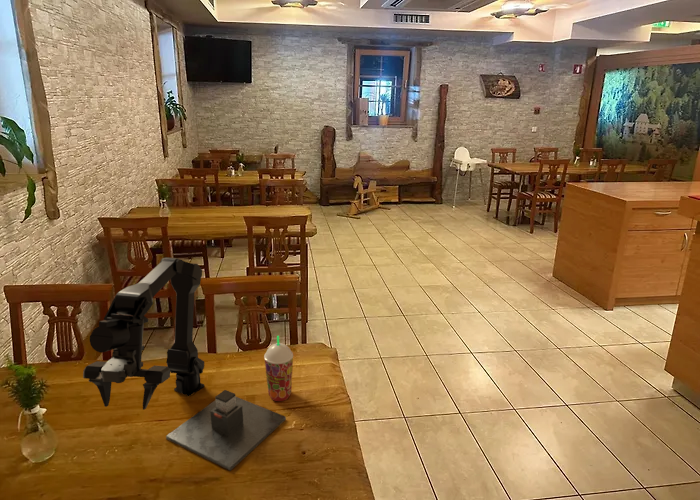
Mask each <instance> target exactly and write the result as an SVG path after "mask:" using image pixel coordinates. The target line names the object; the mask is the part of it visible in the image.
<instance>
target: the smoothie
mask: <svg viewBox="0 0 700 500" xmlns="http://www.w3.org/2000/svg"><path fill="white" fill-rule="evenodd" d="M263 359H264V366H265V375H266V383H267V385H266V386H267V390H268V391H267V392H268V396H269V397H270V399H271V400H273V401H274V402H283V401H286V400H287V399H289V397H290V395H291V394H292V387H293V385H292V383H293V382H292V381H293V364H294V362H293V361H294V353H293V351H292V350H291V348H290V347H289V346H288V345H287V344H285V343H282V342H280V335H277V336H276V343H273V344H271V345H270V346H269V347H267V350H266V352H265V353H264V355H263Z"/></svg>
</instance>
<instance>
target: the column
mask: <svg viewBox="0 0 700 500" xmlns="http://www.w3.org/2000/svg"><path fill="white" fill-rule="evenodd" d="M236 397H237V396H236V393H234V392H232V391H230V390H227V389H224V390H222V392H220V393H219V394H217V395H216V396H215V400H216V411H217V412H219V413H221V414H224V415H226V416H227V415H228V414H230V413H231V412H232V411H234V410H235V409H236Z"/></svg>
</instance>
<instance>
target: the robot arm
mask: <svg viewBox="0 0 700 500" xmlns="http://www.w3.org/2000/svg"><path fill="white" fill-rule="evenodd" d="M202 276H203V269H202V267H200V265H199V264H198V263H193V262H187V261H184V260H183V259H181V258H177V257H163V258H161V260H160V261H159V263H158V264H157V265H156V266H155V267H154V268H153V269H151V271H150V272H149V273H147V274H146V276H145V277H143V278H142V279H141V280H140V281H139V282H138V283H136V284H131V285H129V286H126V287H124V288H123V289H121V290H120V291H118V292H117V293H116V295H115V296H114V299H113V300H112V302H111V303H110V306H109V307H108V310H107V311H106V314H105V316H104V317H103V320H99V322H98V327H97V326H96V327H95V328H93V330H92V331H91V334H89V343H90V346H91V347H92V349H93V350H94V351H95V352H97V353H106V352H108V351H112V355H111V357H110V359H108V360H107V361H100V360H99V361H94V362H92V363H90V364H88V365H86V366H85V367H84V369H83V373H82V378H83V379H87V380H88V382H89V383H93V384H94V385H95V386H96V387H97V390H98V391H99V395H100V397H101V400H102V403H103V406H104V407H106V408H107V407H108V406H109V405H110V401H111V394H112V393H111V392H112V383H116V384H122V383H124V382H125V380H126V379H127V378H134V377H135V378H144V380H143V381H145V382H144V383H143V384H142V386H143V389H144V391H143V398H142V410H146V409H147V407H148V406H149V403H150V401H151V399H152V398H153V395H154V392H155V390H156V389H157V387H158V386H159V385H160V384H163V383H164V382H166V381H167V380H168V379H170V378H171V374H175V387H174V389H173V391H174V392H176V393H179V394H182V395H184V396H186V397H191V396H192V395H194V394H195V393H197V392H198V391H200V390H201V389H203V388H204V387H205V384H204V383H202V382H201V375H202V374H203V373H204V369H205V360H203V359H201V358H199V352H198V351H199V350H198V348H197V347H196V345H195V343H194V341H193V337H194V336H193V335H194V332H193V331H194V309H195V308H194V307H195V306H194V305H195V303H194V302H195V292H196V291H197V289H198V288H199V286H200V285H201V280H202ZM169 281H170V285H171V286H172V289H173V290H174V292H175V294H176V295H175V319H174V320H175V323H174V324H175V325H174V327H175V328H174V343H173V344H172V345H171V346H170V348H168V350H167V351H166V361H165V362H166V365H167V366H165V365H153V366H151V367H150V368H148V369H147V368H143V367H144V362H143V361H142V357H143V356H142V354H143V351H144V350H145V345H143V341H144V340H143V339H144V338H143V337H144V324H146V323H148V322H149V318H147V317H146V316H145V315H146V314H147V313H148V312H149V310H150V309H151V308H152V306H153V305H154V298H155V295H157V294H158V293H159V292H160V290H162V288H163V287H164V286H165V285H166V284H168V282H169Z"/></svg>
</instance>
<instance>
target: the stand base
mask: <svg viewBox="0 0 700 500" xmlns="http://www.w3.org/2000/svg"><path fill="white" fill-rule="evenodd" d="M286 418H287V416H285V415H283V414H280V413H278V412H275V411H273V410H271V409H268V408H265V407H262V406H260V405H258V404H255V403H253V402H251V401H248V400H245V399H243V398H240V397H238V396H236V409H235V410H234V411H232V412H231V413H230V414H228V415H227V416H226V415H224V414H221V413H219V412H217V411H216V399H215V400H214V401H212V402H210V403H209V404H208V405H206V406H205V407H204V408H202V409H201V410H200V411H198V412H197V413H196V414H194V415H193V416H192V417H190V418H189V419H188V420H186V421H184V422H182V424H180V425H179V426H178V427H176V428H175V429H174V430H172V431H171V432H169V433H168V434H167V435H166V436H165V438H166V441H167V440H168V441H169V442H171V443H173V444H176V445H178V446H180V447H182V448H184V449H186V450H188V451H190V452H192V453H194V454H195V455H198V456H199V457H202V458H204V459H206V460H208V461H210V462H212V463H214V464H216V465H217V466H220V467H222V468H224V469H226V470H228V471H230V472H231V471H232V470H234V468H235V467H236V466H237V465H239V464H240V462H242V461H243V460H244V459H245V458H246V457H247V456H248V455H249V454H250V453H251V452H252V451H254V449H256V448H257V446H259V445H260V444H261V443H262V442H263V441H264V440H266V439H267V438H268V437H269V436H270V435H271V434H272V433H273V432H275V430H276V429H278V428H279V426H280V425H282V424H283V423H284V422H285V421H286Z"/></svg>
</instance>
